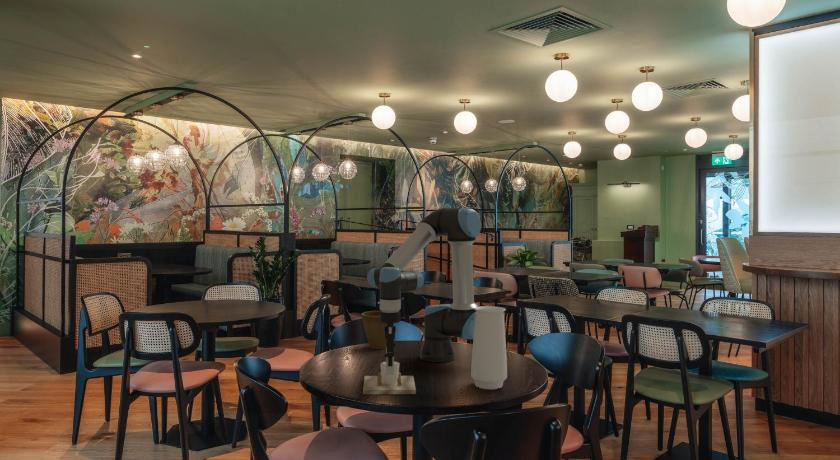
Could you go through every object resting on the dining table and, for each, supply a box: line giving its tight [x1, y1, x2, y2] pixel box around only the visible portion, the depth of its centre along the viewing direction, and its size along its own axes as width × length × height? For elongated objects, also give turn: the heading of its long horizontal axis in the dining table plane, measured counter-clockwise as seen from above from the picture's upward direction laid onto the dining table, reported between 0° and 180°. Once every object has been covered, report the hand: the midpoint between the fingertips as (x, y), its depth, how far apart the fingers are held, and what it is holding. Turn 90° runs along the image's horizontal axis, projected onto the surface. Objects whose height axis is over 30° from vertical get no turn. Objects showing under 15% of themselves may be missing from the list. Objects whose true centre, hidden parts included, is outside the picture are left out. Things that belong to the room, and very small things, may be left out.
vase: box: [470, 305, 508, 390], centre depth 215 cm, size 13×13×28 cm
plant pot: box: [361, 310, 387, 350], centre depth 276 cm, size 15×15×16 cm
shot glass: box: [380, 360, 400, 385], centre depth 212 cm, size 7×7×7 cm
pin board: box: [362, 372, 417, 395], centre depth 212 cm, size 18×18×4 cm
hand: (389, 370), depth 212 cm, fingers open, 13 cm apart
